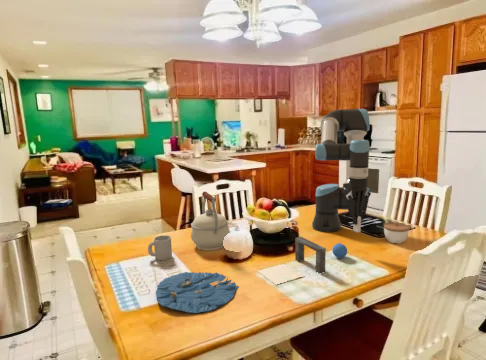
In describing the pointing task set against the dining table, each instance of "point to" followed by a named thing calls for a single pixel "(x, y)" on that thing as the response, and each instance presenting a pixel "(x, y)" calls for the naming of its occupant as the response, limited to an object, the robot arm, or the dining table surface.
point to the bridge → (319, 249)
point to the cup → (161, 247)
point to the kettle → (209, 227)
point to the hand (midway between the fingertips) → (356, 231)
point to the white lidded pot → (396, 232)
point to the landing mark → (278, 273)
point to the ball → (339, 250)
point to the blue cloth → (195, 291)
